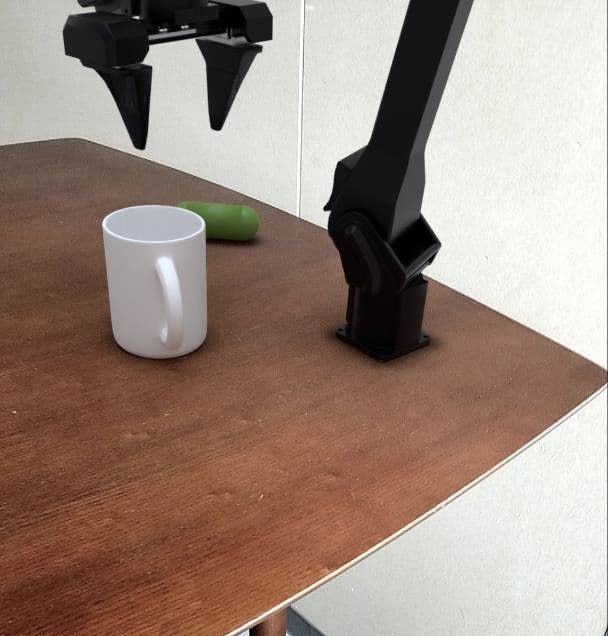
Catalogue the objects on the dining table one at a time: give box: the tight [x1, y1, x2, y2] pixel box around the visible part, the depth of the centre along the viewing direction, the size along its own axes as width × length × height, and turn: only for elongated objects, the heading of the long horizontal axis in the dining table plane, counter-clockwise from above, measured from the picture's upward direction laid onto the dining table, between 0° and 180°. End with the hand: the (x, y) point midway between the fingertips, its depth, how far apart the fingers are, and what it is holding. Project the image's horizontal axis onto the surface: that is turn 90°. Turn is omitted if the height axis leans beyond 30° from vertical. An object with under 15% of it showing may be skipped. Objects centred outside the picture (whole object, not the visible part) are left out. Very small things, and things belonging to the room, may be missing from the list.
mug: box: [101, 204, 208, 359], centre depth 72 cm, size 12×8×10 cm
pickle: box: [175, 200, 260, 242], centre depth 94 cm, size 10×4×4 cm, turn 86°
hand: (179, 139), depth 77 cm, fingers open, 9 cm apart
